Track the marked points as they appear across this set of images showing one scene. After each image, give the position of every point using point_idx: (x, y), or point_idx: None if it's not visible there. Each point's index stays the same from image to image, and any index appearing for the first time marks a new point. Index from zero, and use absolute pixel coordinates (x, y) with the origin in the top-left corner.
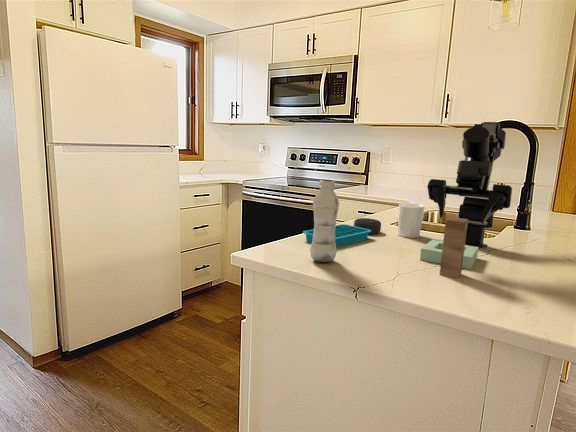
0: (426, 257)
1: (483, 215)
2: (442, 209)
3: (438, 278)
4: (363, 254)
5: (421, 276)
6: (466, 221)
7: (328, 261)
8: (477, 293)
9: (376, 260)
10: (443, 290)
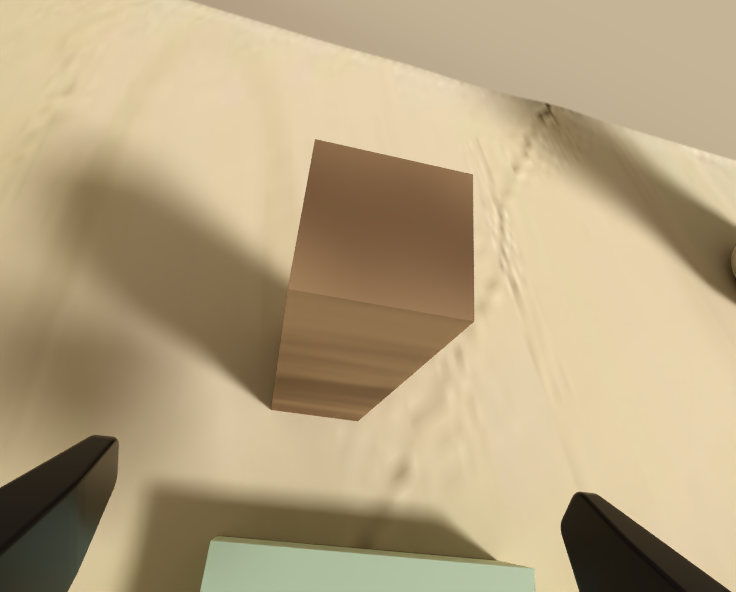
0: (472, 559)
1: (62, 477)
2: (640, 548)
3: None
4: (730, 470)
5: None
6: (303, 204)
7: (733, 252)
8: (215, 188)
9: (643, 403)
10: None
